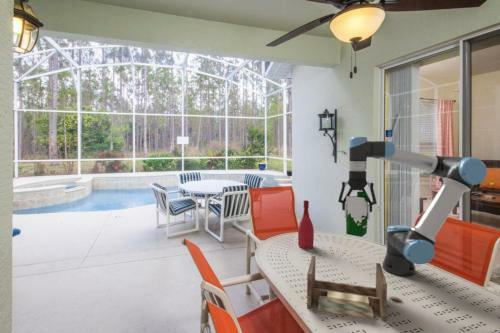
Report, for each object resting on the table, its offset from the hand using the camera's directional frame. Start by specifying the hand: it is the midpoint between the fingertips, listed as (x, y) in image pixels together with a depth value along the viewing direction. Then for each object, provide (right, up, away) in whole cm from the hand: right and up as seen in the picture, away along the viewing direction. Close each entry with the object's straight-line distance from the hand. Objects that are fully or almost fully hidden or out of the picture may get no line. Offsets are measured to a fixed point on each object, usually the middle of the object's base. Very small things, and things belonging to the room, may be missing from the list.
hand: (356, 218), depth 131 cm
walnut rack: (-11, -32, -16) cm, 37 cm away
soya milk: (0, -8, 0) cm, 8 cm away
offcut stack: (-13, -32, -22) cm, 41 cm away
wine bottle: (-14, -28, +49) cm, 58 cm away
